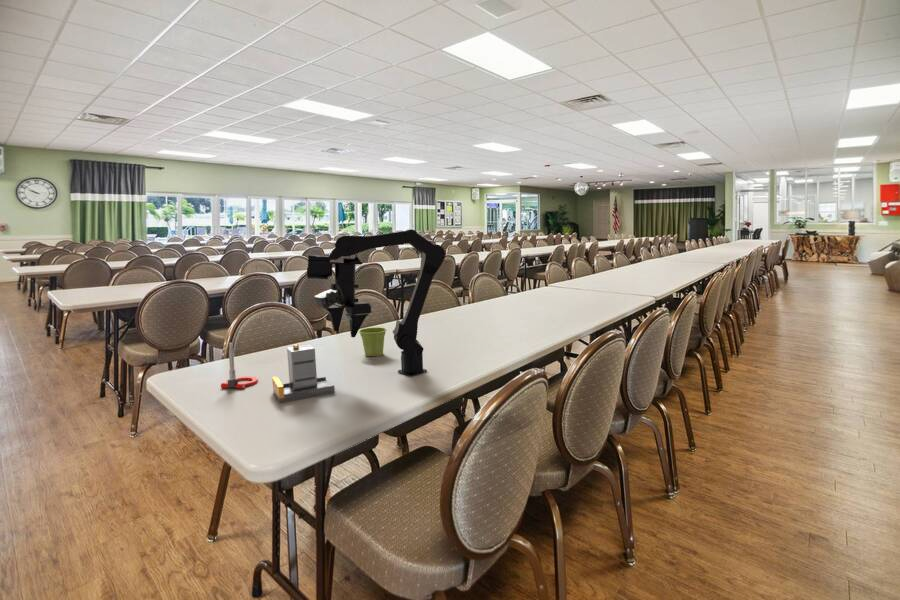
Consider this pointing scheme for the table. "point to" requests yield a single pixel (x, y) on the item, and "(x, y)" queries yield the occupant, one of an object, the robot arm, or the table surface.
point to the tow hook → (233, 380)
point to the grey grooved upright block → (302, 367)
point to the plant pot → (373, 340)
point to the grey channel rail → (286, 394)
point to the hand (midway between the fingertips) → (344, 334)
